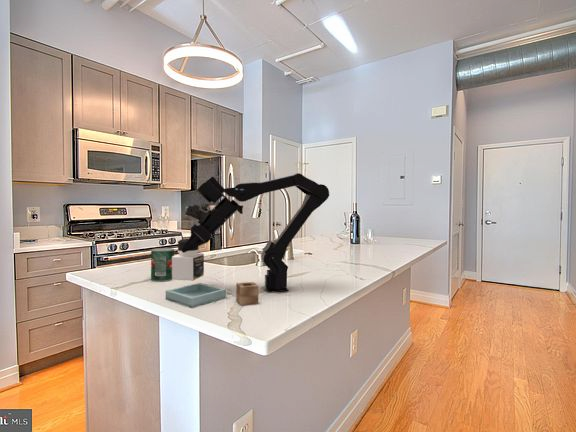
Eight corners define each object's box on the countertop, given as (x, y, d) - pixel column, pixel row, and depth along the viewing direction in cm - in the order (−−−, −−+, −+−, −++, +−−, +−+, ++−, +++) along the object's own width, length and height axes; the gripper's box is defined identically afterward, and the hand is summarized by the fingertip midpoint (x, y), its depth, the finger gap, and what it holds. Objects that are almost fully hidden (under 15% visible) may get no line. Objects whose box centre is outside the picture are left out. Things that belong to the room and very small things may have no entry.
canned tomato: (148, 278, 114) (148, 248, 114) (170, 276, 119) (170, 247, 119) (153, 282, 108) (154, 251, 107) (176, 280, 112) (177, 249, 112)
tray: (199, 290, 99) (200, 283, 99) (226, 297, 92) (226, 289, 91) (165, 299, 89) (165, 290, 89) (191, 307, 82) (192, 298, 82)
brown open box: (252, 298, 91) (253, 281, 91) (258, 303, 86) (258, 285, 86) (236, 300, 89) (236, 283, 89) (240, 305, 84) (240, 287, 84)
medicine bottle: (193, 281, 92) (193, 240, 92) (171, 279, 93) (171, 240, 93) (204, 275, 99) (204, 238, 99) (183, 274, 101) (183, 237, 100)
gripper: (203, 196, 106) (169, 229, 104) (198, 194, 87) (157, 234, 85) (227, 220, 107) (193, 252, 105) (227, 222, 89) (187, 262, 87)
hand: (183, 250), depth 96 cm, fingers closed on medicine bottle, 6 cm apart
